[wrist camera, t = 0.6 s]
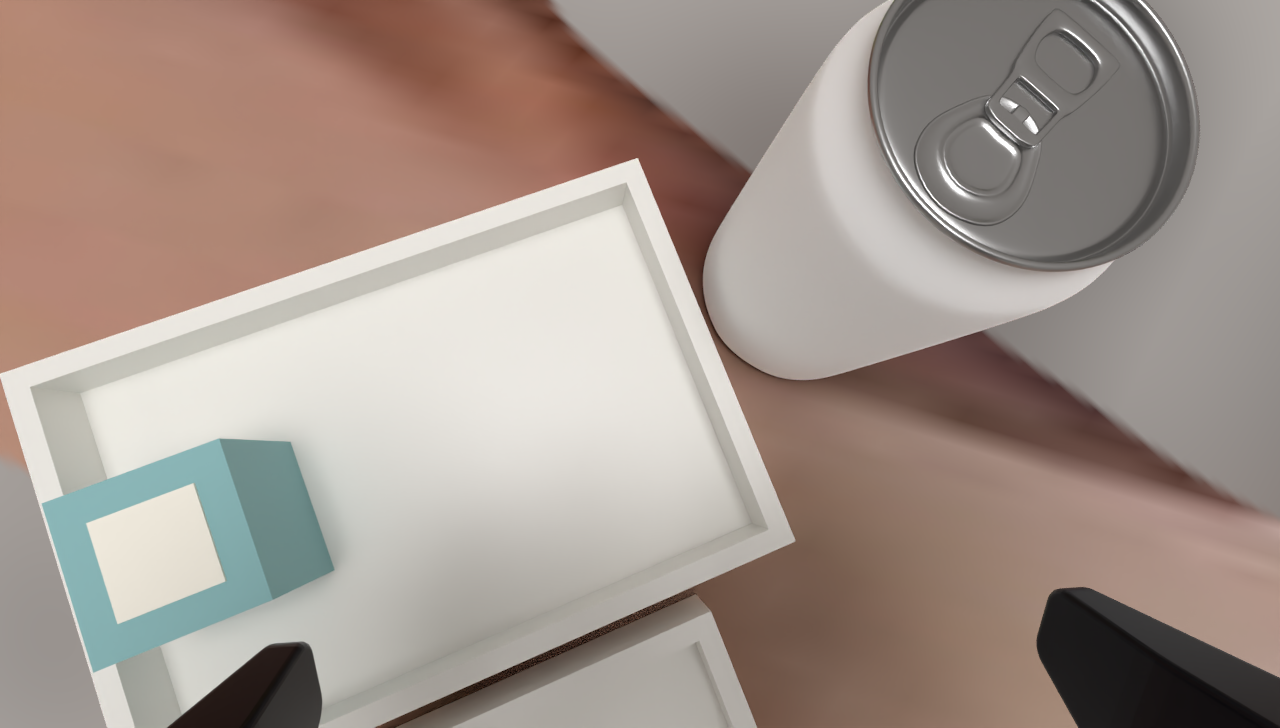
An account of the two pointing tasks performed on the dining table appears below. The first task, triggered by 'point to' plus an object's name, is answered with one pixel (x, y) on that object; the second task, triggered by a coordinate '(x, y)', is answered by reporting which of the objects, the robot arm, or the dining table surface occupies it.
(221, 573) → the letter cube
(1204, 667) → the robot arm
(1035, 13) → the can
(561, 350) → the long tray
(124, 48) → the dining table surface
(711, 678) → the small tray
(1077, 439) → the dining table surface
